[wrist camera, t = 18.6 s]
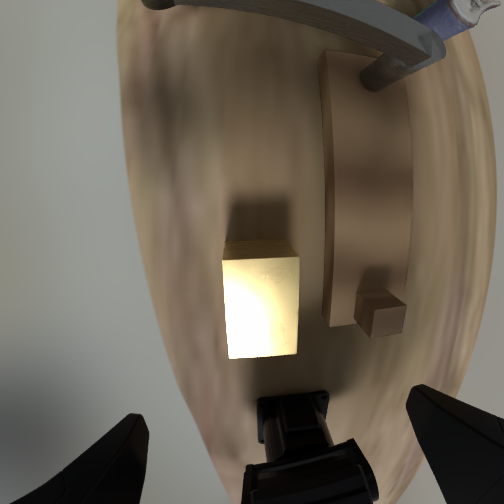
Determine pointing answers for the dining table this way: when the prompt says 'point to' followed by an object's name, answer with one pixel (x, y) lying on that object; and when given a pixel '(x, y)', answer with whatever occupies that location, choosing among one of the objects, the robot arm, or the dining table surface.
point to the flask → (453, 15)
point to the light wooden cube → (261, 297)
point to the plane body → (365, 197)
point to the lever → (350, 31)
